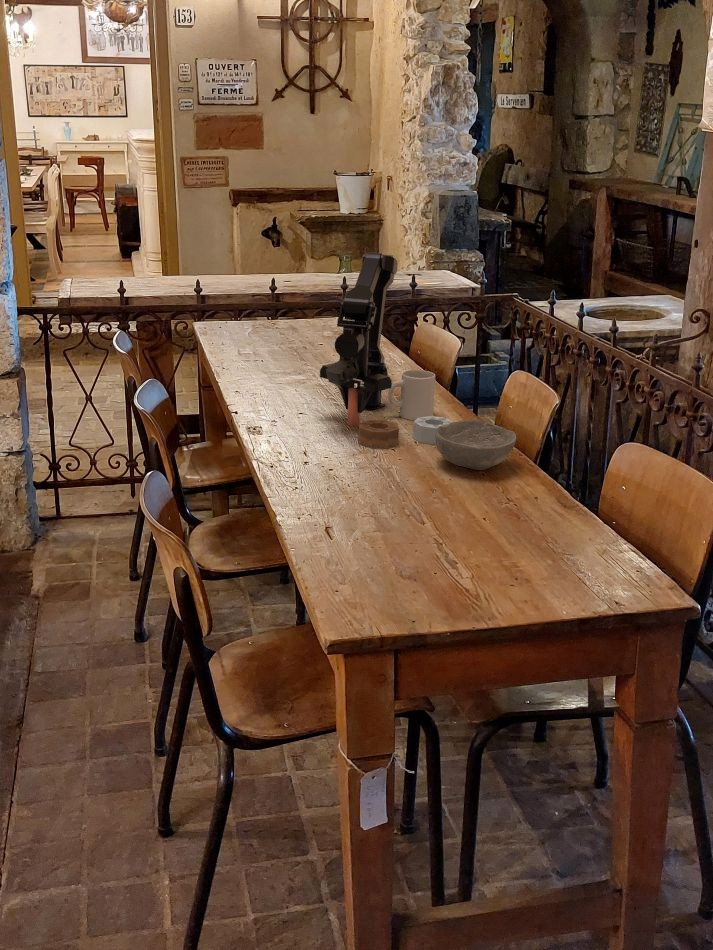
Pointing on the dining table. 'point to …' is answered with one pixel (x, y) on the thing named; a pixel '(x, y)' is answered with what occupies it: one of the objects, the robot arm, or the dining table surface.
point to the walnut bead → (378, 434)
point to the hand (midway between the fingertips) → (354, 411)
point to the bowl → (474, 443)
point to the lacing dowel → (353, 408)
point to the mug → (414, 394)
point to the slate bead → (428, 428)
